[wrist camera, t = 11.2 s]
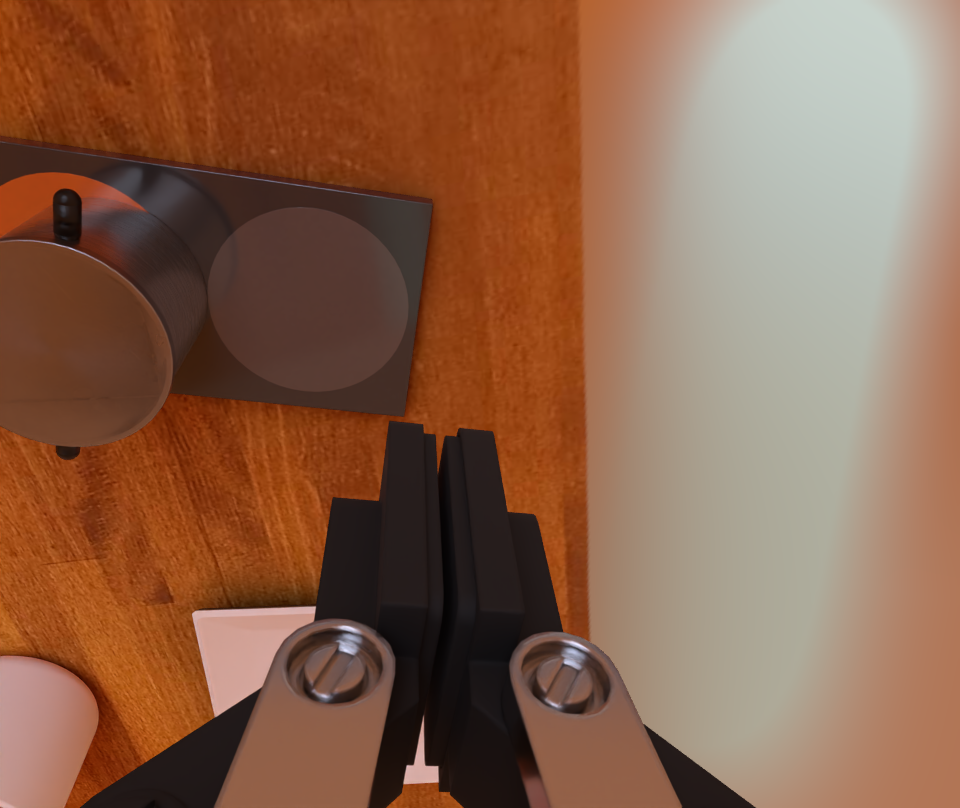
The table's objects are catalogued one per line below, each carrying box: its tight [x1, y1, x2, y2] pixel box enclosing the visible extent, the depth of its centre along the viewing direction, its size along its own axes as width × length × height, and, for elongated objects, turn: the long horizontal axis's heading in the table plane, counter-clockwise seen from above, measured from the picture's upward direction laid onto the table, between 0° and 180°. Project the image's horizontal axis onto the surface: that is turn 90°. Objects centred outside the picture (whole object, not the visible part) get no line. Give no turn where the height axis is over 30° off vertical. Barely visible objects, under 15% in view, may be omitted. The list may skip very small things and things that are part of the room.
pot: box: [0, 188, 207, 460], centre depth 34 cm, size 13×9×7 cm
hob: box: [0, 136, 433, 417], centre depth 37 cm, size 12×22×1 cm, turn 81°
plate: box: [192, 604, 439, 784], centre depth 52 cm, size 19×19×2 cm
